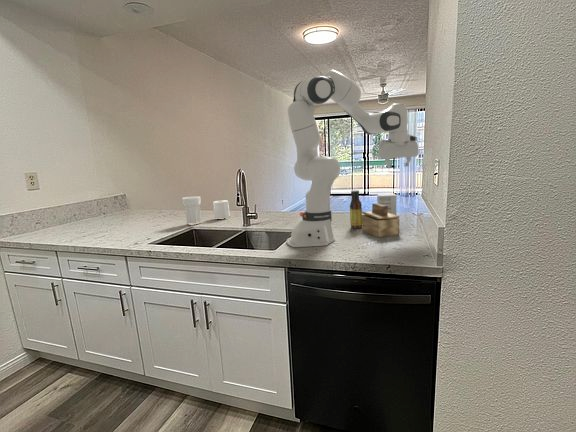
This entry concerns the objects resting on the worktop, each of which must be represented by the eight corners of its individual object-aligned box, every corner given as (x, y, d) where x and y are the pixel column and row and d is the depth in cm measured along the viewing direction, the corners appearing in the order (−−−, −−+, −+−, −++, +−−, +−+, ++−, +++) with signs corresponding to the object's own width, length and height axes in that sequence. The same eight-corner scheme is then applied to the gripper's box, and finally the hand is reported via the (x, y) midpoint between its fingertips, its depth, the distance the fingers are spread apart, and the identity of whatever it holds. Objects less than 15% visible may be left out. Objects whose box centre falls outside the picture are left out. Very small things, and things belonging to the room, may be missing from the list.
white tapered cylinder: (214, 218, 228) (212, 200, 226) (229, 216, 230) (227, 199, 228) (214, 220, 218) (212, 202, 216) (230, 219, 221) (228, 201, 218)
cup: (181, 225, 209) (178, 198, 206) (194, 221, 219) (191, 196, 216) (193, 226, 203) (190, 198, 200) (207, 222, 213) (204, 196, 210)
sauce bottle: (355, 225, 180) (354, 189, 176) (364, 227, 175) (364, 190, 171) (347, 227, 175) (346, 191, 172) (357, 229, 171) (356, 191, 167)
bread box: (377, 237, 153) (377, 220, 151) (362, 229, 169) (362, 214, 167) (399, 234, 155) (399, 218, 153) (382, 227, 171) (382, 212, 169)
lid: (377, 219, 151) (377, 217, 151) (362, 213, 167) (362, 211, 167) (399, 217, 153) (399, 215, 153) (382, 212, 169) (382, 210, 169)
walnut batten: (381, 215, 155) (381, 206, 154) (372, 212, 165) (372, 203, 164) (387, 215, 156) (387, 206, 155) (377, 212, 165) (377, 203, 165)
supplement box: (396, 227, 170) (396, 195, 166) (378, 227, 172) (378, 195, 168) (394, 223, 179) (394, 192, 176) (377, 223, 181) (377, 193, 178)
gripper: (381, 139, 154) (381, 168, 157) (420, 137, 158) (420, 165, 161) (375, 140, 161) (375, 168, 163) (412, 137, 164) (412, 165, 167)
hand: (398, 167), depth 162 cm, fingers open, 8 cm apart
